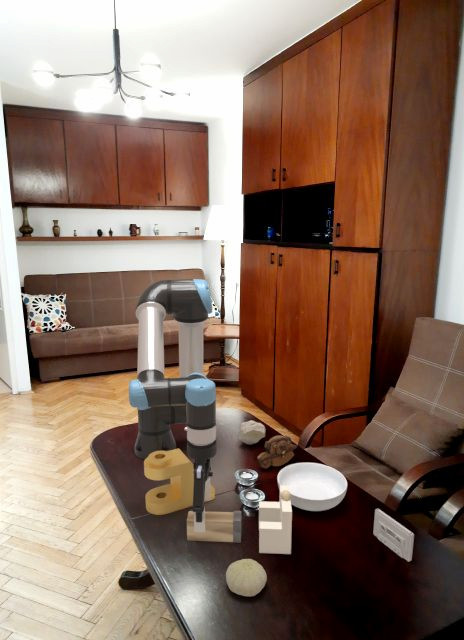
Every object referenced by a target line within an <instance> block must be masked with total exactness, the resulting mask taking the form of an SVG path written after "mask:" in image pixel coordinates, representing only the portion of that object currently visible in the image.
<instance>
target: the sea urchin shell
mask: <svg viewBox="0 0 464 640" xmlns="http://www.w3.org/2000/svg"><path fill="white" fill-rule="evenodd" d="M267 580H268V576H267V573H266V570H265V569H264V567H263V566H262V565H261V564H260V563H259V562H258V561H256V560H254V559H252V558H243V559H239V560H236V561H233V562H231V563H230V564H229V566H228V567H227V570H226V572H225V581H226V585H227V586H228V589H229V590H230V591H231V592H232V593H235V594H237V595H239V596H243V597H255V596H256V595H257V594H259V593H260V592H261V591H262V589H264V587H265V586H266V583H267Z"/></svg>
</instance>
